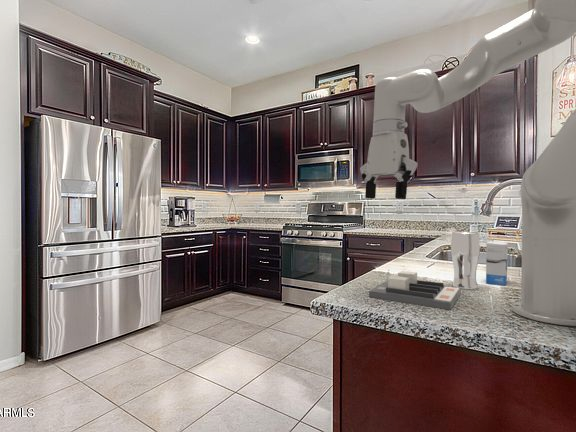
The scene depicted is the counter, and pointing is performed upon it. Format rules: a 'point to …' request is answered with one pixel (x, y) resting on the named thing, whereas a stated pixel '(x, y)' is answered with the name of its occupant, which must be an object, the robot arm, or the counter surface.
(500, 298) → the counter surface
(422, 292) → the switch panel
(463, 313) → the counter surface
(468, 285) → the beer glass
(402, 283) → the tab
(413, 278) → the tab
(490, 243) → the ink box
